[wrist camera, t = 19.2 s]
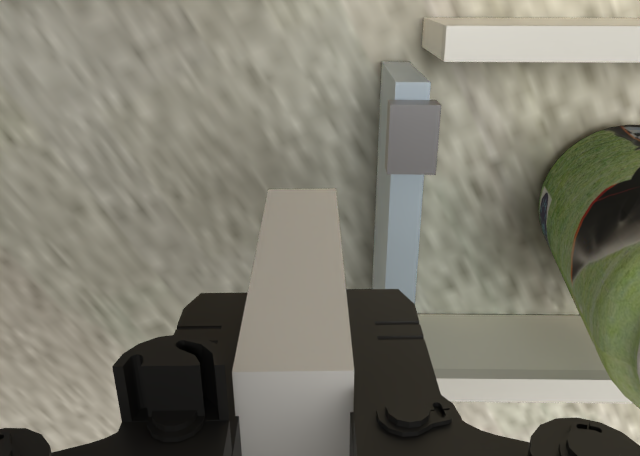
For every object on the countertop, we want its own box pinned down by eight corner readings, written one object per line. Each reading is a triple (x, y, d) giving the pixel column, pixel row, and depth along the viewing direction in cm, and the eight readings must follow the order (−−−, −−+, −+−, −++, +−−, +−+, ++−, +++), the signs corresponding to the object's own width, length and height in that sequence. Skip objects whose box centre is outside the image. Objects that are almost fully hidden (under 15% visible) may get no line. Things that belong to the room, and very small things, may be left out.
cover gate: (398, 351, 27) (417, 447, 21) (362, 350, 27) (371, 446, 21) (417, 61, 22) (446, 87, 17) (373, 61, 22) (387, 86, 17)
